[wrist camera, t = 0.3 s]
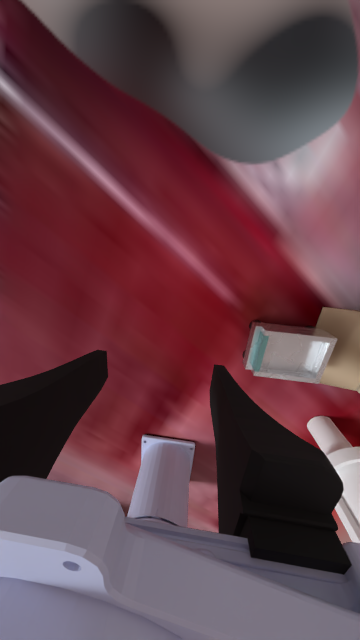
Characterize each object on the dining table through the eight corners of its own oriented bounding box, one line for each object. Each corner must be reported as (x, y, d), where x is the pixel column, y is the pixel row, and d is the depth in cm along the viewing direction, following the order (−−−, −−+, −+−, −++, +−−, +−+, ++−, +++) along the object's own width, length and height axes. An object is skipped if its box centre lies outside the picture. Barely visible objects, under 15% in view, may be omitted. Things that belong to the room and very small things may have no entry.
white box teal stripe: (300, 364, 22) (318, 383, 18) (240, 356, 22) (247, 374, 19) (314, 324, 20) (337, 338, 17) (249, 317, 20) (258, 329, 17)
